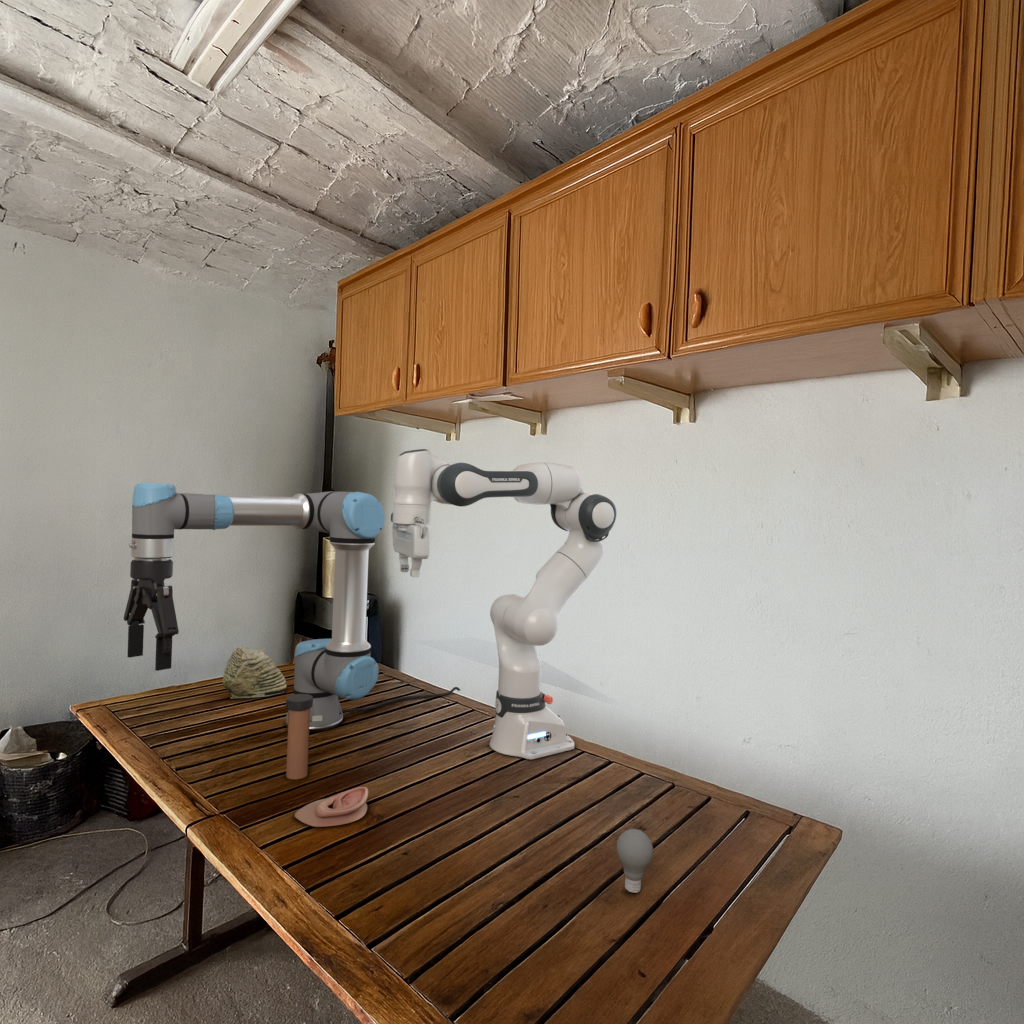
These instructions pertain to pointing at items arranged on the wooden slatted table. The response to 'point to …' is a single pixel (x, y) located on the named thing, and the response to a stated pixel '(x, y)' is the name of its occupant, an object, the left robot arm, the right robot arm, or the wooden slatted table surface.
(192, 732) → the wooden slatted table surface
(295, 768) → the jar
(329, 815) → the anatomical model
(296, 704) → the lid
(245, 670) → the fossil
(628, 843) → the light bulb
